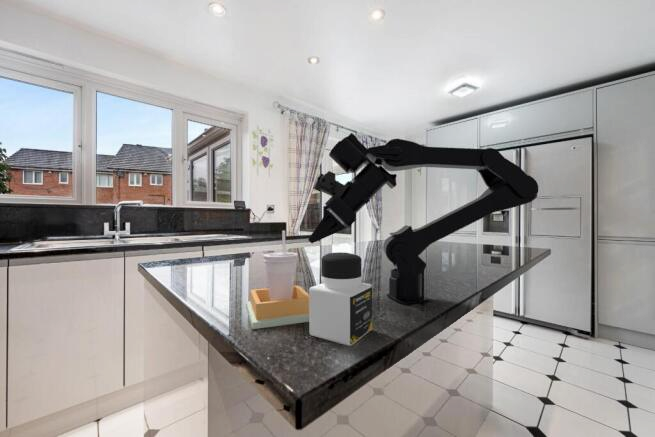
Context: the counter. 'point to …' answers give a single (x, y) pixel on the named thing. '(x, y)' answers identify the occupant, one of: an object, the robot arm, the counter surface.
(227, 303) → the counter surface
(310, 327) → the medicine bottle
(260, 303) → the box
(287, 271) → the smoothie
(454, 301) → the counter surface
